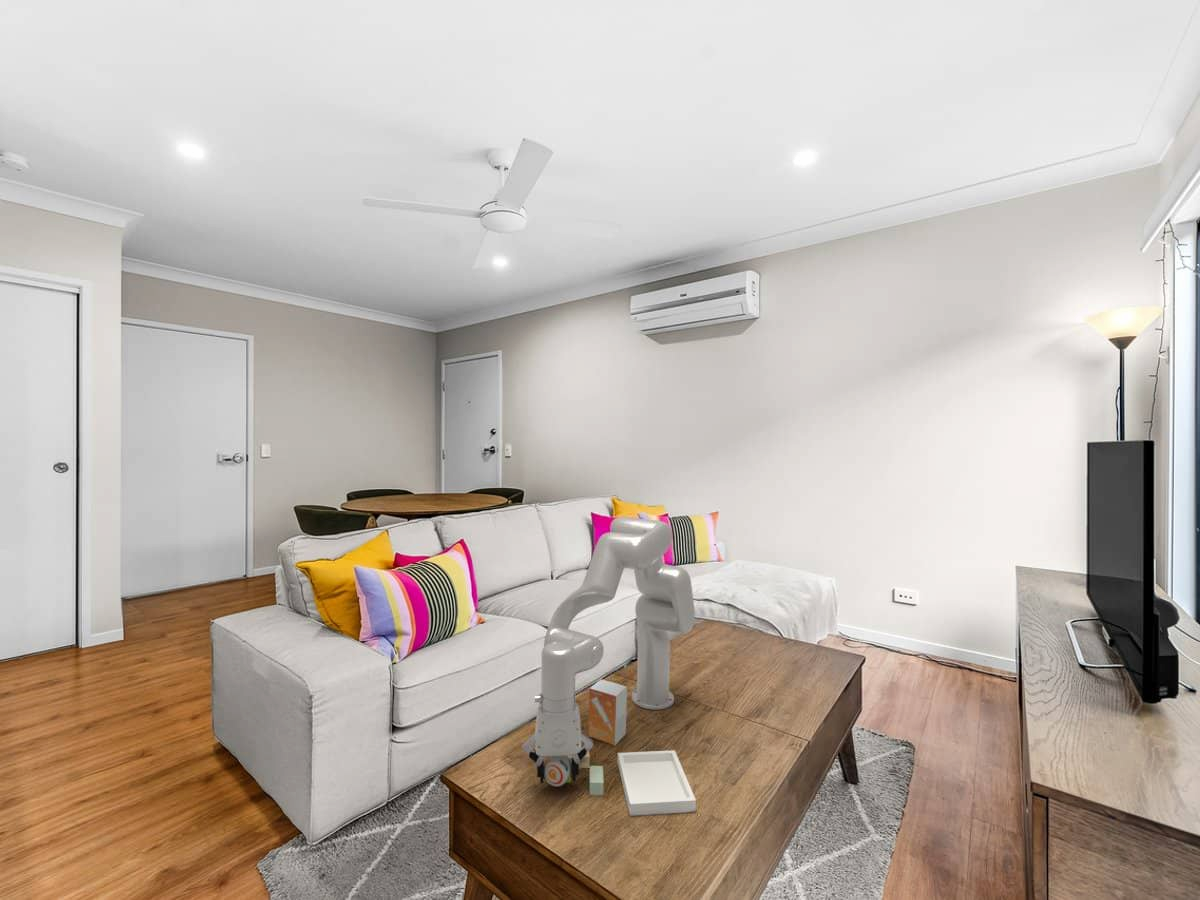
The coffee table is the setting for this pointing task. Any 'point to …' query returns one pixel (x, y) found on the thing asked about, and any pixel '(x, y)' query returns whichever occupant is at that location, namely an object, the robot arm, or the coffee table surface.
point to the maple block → (582, 761)
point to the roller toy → (558, 770)
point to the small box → (607, 711)
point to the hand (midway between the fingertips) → (557, 777)
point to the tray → (655, 783)
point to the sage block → (596, 780)
